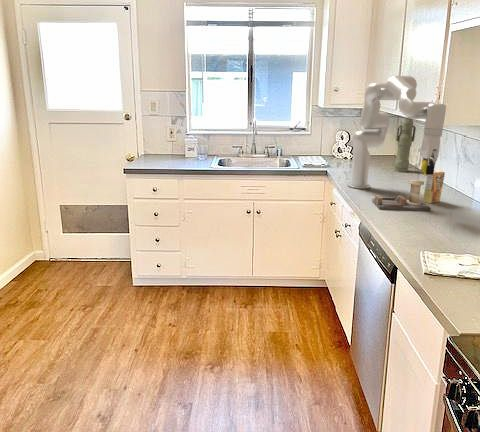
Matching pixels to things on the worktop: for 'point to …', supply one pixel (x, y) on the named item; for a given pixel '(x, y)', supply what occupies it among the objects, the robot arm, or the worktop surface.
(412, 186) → the bobbin
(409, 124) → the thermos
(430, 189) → the candy box
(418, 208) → the board
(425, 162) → the lemon
